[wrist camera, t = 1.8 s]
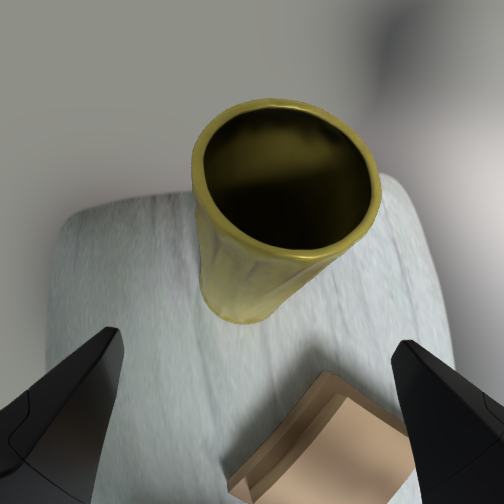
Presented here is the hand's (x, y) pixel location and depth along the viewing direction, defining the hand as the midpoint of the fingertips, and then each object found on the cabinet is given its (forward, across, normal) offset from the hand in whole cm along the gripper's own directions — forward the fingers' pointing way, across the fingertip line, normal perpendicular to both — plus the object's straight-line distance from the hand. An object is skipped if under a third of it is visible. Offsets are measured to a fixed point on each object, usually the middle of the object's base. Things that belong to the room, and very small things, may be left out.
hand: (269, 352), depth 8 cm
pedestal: (+2, -7, +15) cm, 16 cm away
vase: (+12, 0, +5) cm, 13 cm away
